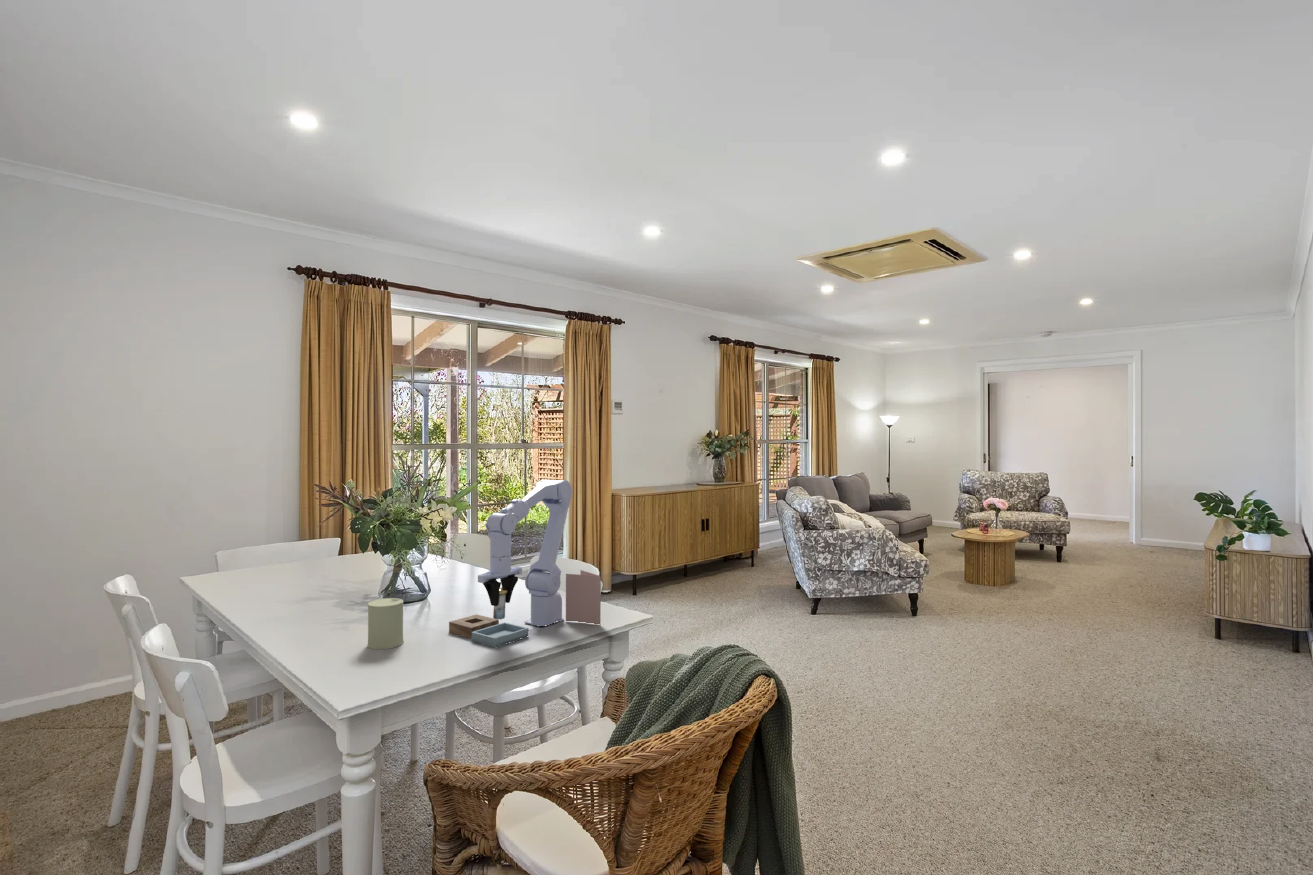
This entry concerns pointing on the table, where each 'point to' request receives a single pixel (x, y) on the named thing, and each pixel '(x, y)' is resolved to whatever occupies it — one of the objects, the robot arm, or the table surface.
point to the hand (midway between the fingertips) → (500, 603)
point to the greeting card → (583, 597)
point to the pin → (500, 604)
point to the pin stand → (471, 625)
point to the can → (385, 623)
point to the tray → (499, 634)
